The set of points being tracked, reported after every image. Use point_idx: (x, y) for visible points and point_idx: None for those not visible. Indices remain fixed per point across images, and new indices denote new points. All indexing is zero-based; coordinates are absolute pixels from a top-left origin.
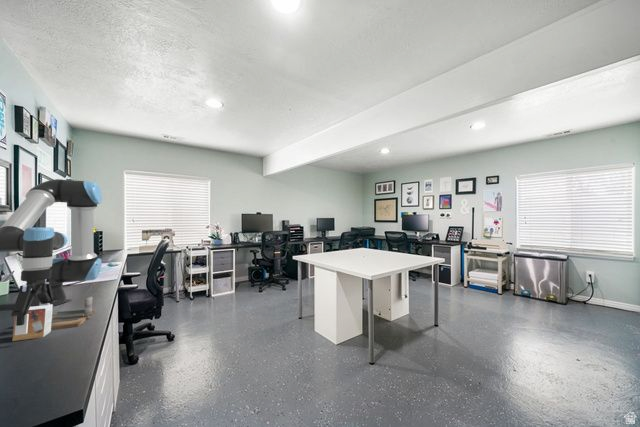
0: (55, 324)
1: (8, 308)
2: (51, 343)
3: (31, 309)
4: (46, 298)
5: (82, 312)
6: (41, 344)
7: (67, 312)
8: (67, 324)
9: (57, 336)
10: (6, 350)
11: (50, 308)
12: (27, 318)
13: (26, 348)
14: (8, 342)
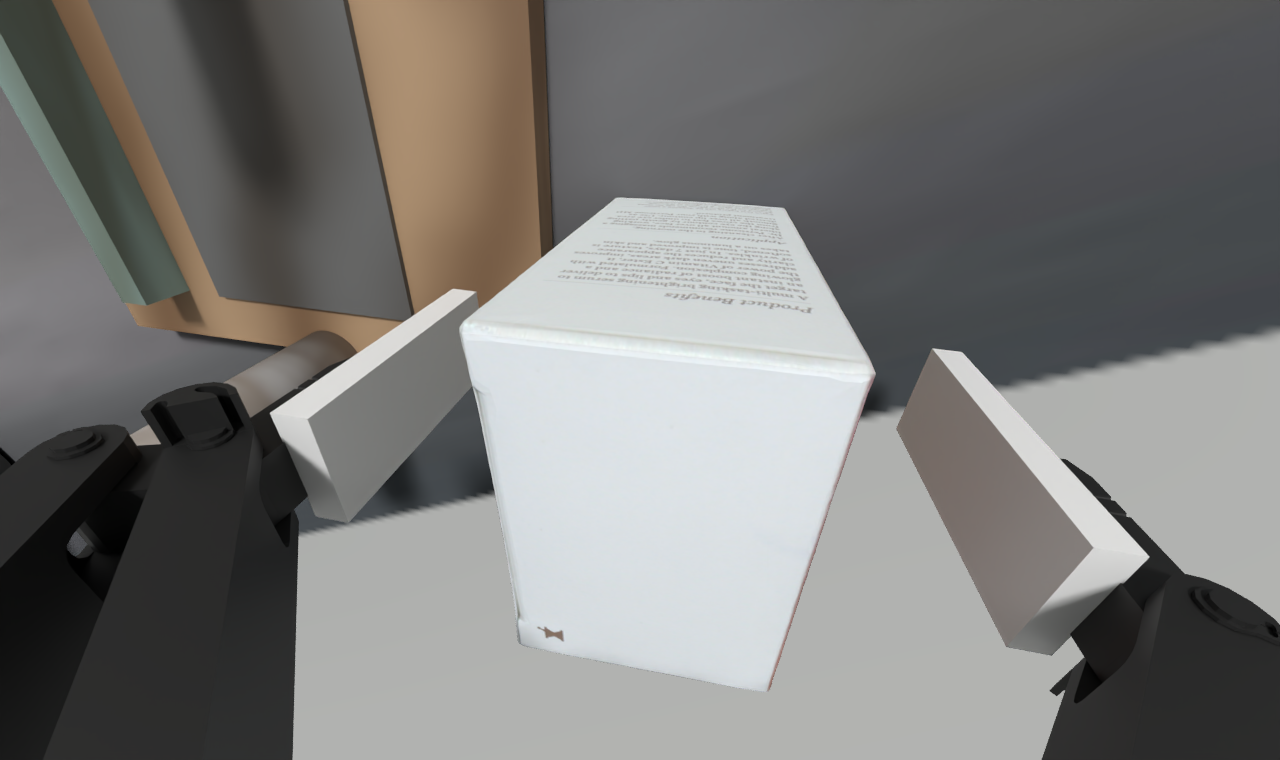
0: (471, 204)
1: None
2: (1161, 12)
3: (790, 571)
4: (245, 550)
5: (45, 12)
6: (1077, 138)
7: (112, 201)
8: (520, 41)
9: (866, 43)
10: None
11: (608, 305)
12: (1068, 487)
13: (1087, 252)
14: None
